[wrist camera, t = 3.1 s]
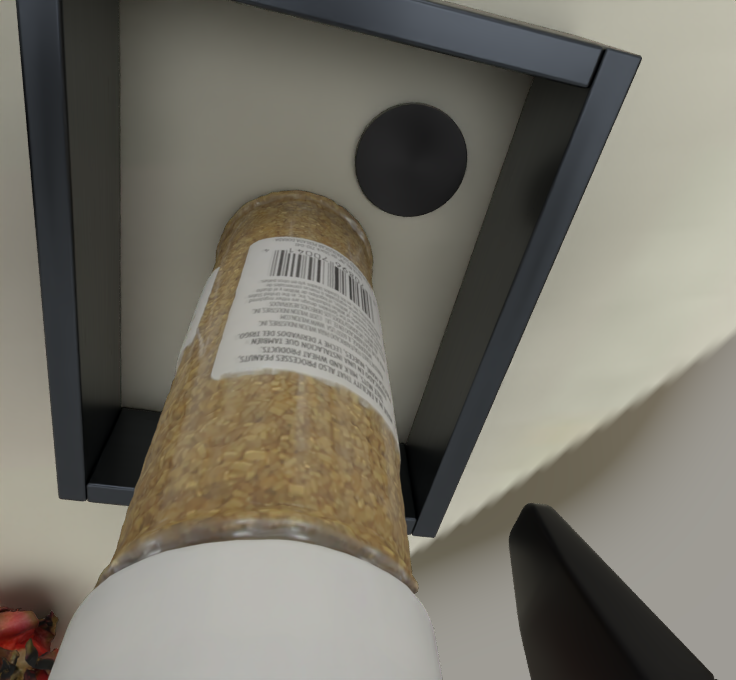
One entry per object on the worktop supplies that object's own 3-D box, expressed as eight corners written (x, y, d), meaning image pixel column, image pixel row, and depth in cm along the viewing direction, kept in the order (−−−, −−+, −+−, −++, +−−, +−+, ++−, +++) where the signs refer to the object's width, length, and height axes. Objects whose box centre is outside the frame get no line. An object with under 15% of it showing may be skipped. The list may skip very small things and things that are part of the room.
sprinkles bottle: (186, 260, 17) (-96, 853, 6) (294, 149, 15) (199, 665, 4) (302, 351, 19) (261, 926, 8) (407, 261, 17) (550, 816, 6)
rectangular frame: (97, 420, 20) (57, 500, 17) (80, -96, 12) (3, -112, 9) (421, 461, 22) (434, 538, 19) (579, 36, 14) (644, 56, 11)
